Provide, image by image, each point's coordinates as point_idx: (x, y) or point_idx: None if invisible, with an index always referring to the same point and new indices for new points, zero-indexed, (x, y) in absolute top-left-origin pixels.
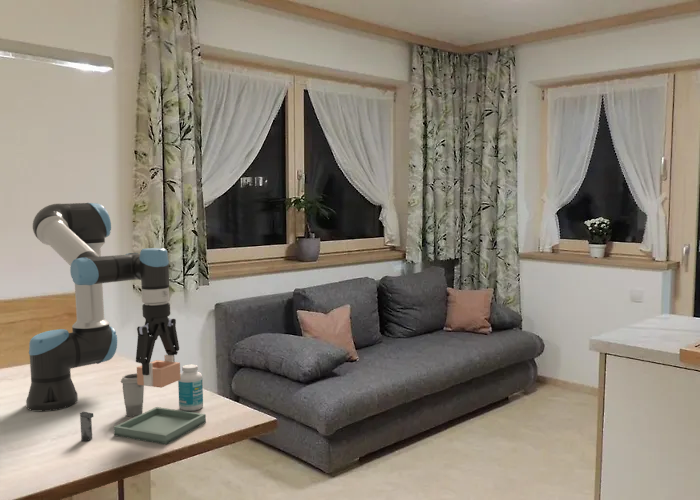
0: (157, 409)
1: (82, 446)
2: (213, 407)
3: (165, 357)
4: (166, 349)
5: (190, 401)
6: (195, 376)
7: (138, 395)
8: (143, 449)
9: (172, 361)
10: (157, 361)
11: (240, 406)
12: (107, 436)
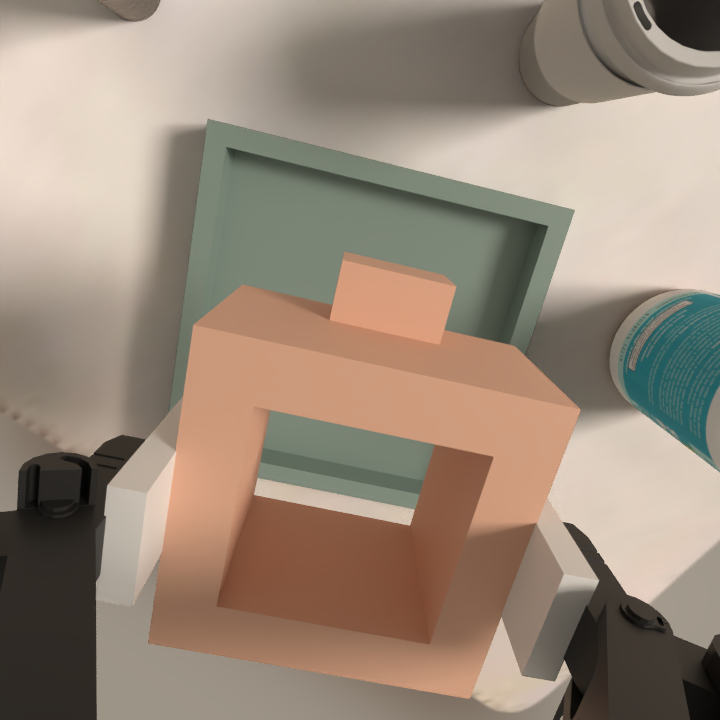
0: (545, 227)
1: (40, 27)
2: (674, 454)
3: (544, 567)
4: (597, 673)
5: (634, 393)
6: None
7: (582, 84)
8: (103, 368)
9: (509, 616)
10: (503, 454)
11: (684, 565)
12: (202, 91)
